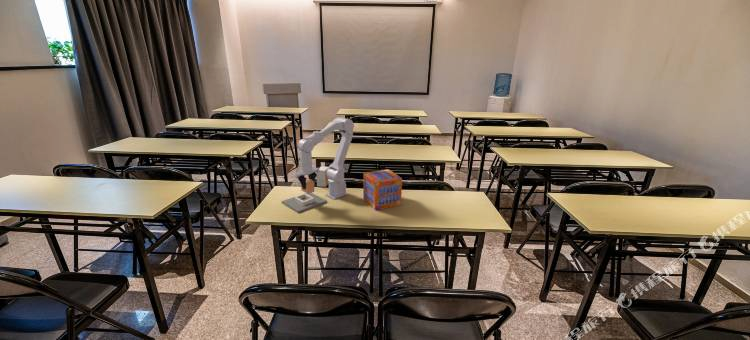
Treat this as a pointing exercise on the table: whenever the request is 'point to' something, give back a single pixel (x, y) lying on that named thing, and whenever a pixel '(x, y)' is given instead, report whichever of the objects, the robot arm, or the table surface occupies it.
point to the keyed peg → (308, 186)
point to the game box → (382, 189)
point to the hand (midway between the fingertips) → (307, 187)
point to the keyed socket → (304, 202)
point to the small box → (322, 177)
